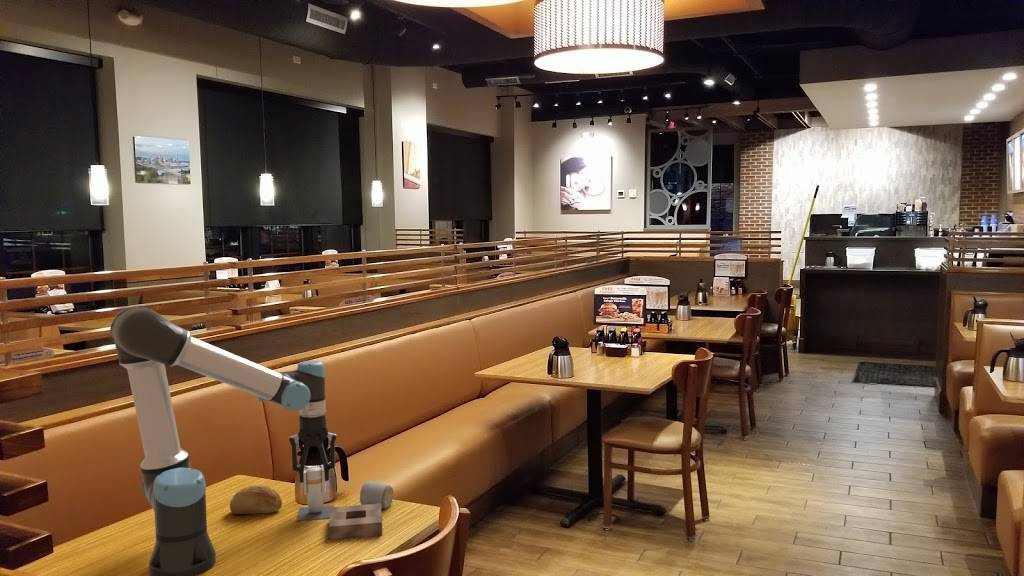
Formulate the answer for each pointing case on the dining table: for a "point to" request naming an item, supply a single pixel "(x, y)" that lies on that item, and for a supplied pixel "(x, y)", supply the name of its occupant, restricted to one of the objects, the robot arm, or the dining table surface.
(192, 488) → the robot arm
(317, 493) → the white banded cylinder
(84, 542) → the dining table surface
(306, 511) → the mat
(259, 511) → the bread roll
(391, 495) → the ceramic mug
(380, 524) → the block
